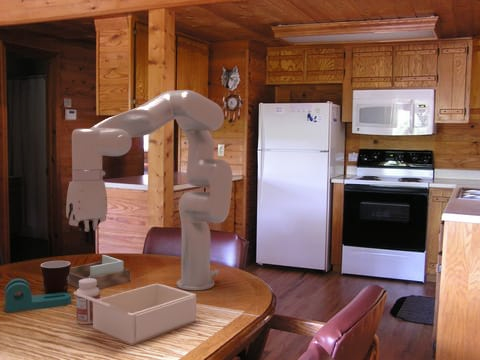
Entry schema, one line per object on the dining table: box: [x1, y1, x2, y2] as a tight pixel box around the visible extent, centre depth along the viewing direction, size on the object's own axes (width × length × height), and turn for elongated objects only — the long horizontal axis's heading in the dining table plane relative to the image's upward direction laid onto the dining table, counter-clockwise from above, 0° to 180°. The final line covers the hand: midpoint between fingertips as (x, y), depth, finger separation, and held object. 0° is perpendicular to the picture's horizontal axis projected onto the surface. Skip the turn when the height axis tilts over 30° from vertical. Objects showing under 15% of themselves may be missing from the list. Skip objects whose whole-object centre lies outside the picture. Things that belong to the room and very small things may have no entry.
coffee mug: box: [40, 260, 71, 294], centre depth 164 cm, size 12×9×10 cm
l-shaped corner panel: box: [88, 254, 125, 278], centre depth 178 cm, size 12×12×8 cm
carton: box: [92, 283, 197, 346], centre depth 139 cm, size 22×17×8 cm
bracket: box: [4, 278, 72, 314], centre depth 154 cm, size 18×7×8 cm, turn 115°
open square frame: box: [68, 261, 131, 290], centre depth 179 cm, size 17×17×4 cm
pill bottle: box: [75, 277, 101, 325], centre depth 142 cm, size 6×6×11 cm
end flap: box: [73, 291, 128, 314], centre depth 128 cm, size 1×14×6 cm
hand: (88, 245), depth 139 cm, fingers closed
